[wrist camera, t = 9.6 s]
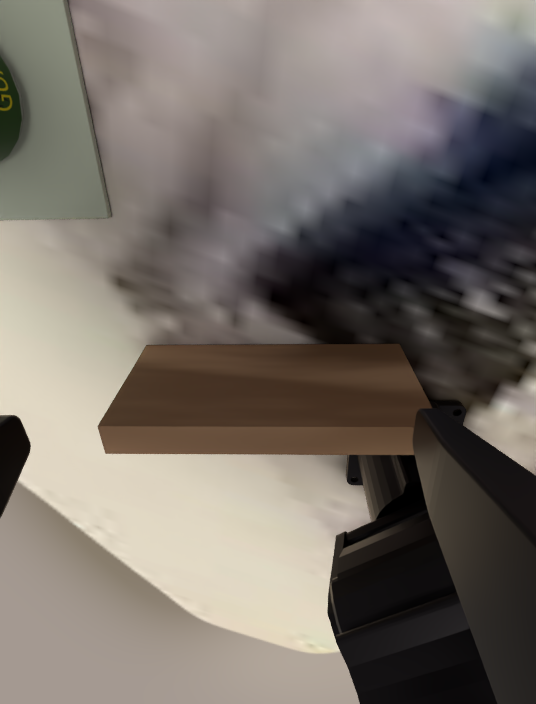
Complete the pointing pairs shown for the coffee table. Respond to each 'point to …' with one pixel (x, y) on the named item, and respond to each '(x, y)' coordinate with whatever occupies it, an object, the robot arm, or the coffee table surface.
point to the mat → (49, 119)
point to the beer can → (9, 111)
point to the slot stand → (266, 401)
